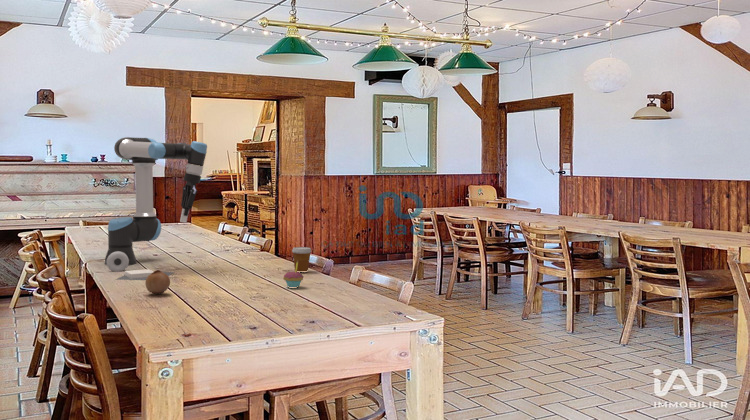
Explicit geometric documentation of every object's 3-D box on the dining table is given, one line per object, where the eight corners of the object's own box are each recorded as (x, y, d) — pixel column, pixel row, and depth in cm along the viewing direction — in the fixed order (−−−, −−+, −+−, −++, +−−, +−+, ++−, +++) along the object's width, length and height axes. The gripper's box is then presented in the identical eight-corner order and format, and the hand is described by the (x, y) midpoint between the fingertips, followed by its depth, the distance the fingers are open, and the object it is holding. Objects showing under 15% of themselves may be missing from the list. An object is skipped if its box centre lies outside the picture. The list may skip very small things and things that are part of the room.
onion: (156, 297, 270) (156, 272, 269) (140, 294, 275) (140, 270, 274) (175, 294, 278) (175, 269, 277) (159, 291, 283) (159, 267, 282)
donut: (128, 271, 331) (128, 250, 330) (129, 272, 328) (129, 251, 327) (106, 272, 327) (106, 251, 326) (106, 273, 324) (106, 252, 323)
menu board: (148, 269, 322) (124, 270, 315) (155, 272, 314) (131, 274, 307) (148, 273, 322) (124, 275, 316) (155, 276, 314) (131, 278, 308)
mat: (131, 272, 327) (131, 271, 326) (174, 273, 327) (174, 272, 327) (115, 280, 305) (115, 279, 305) (161, 281, 305) (161, 280, 305)
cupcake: (306, 287, 301) (306, 259, 300) (297, 290, 293) (298, 262, 292) (288, 285, 304) (288, 258, 303) (279, 288, 296) (280, 260, 295)
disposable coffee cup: (288, 272, 338) (288, 248, 337) (297, 270, 346) (297, 246, 346) (305, 274, 334) (305, 249, 333) (314, 271, 343) (314, 247, 342)
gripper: (180, 171, 332) (170, 219, 332) (190, 173, 322) (180, 223, 322) (195, 174, 337) (185, 221, 337) (205, 176, 326) (195, 225, 326)
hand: (183, 222), depth 329 cm, fingers closed
